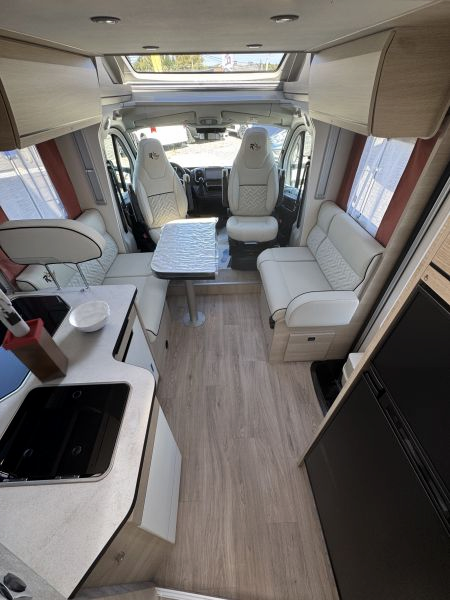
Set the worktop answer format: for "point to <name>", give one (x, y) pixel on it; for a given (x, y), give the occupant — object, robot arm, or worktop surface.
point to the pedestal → (43, 358)
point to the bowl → (90, 316)
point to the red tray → (27, 339)
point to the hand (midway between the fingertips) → (11, 319)
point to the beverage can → (17, 329)
